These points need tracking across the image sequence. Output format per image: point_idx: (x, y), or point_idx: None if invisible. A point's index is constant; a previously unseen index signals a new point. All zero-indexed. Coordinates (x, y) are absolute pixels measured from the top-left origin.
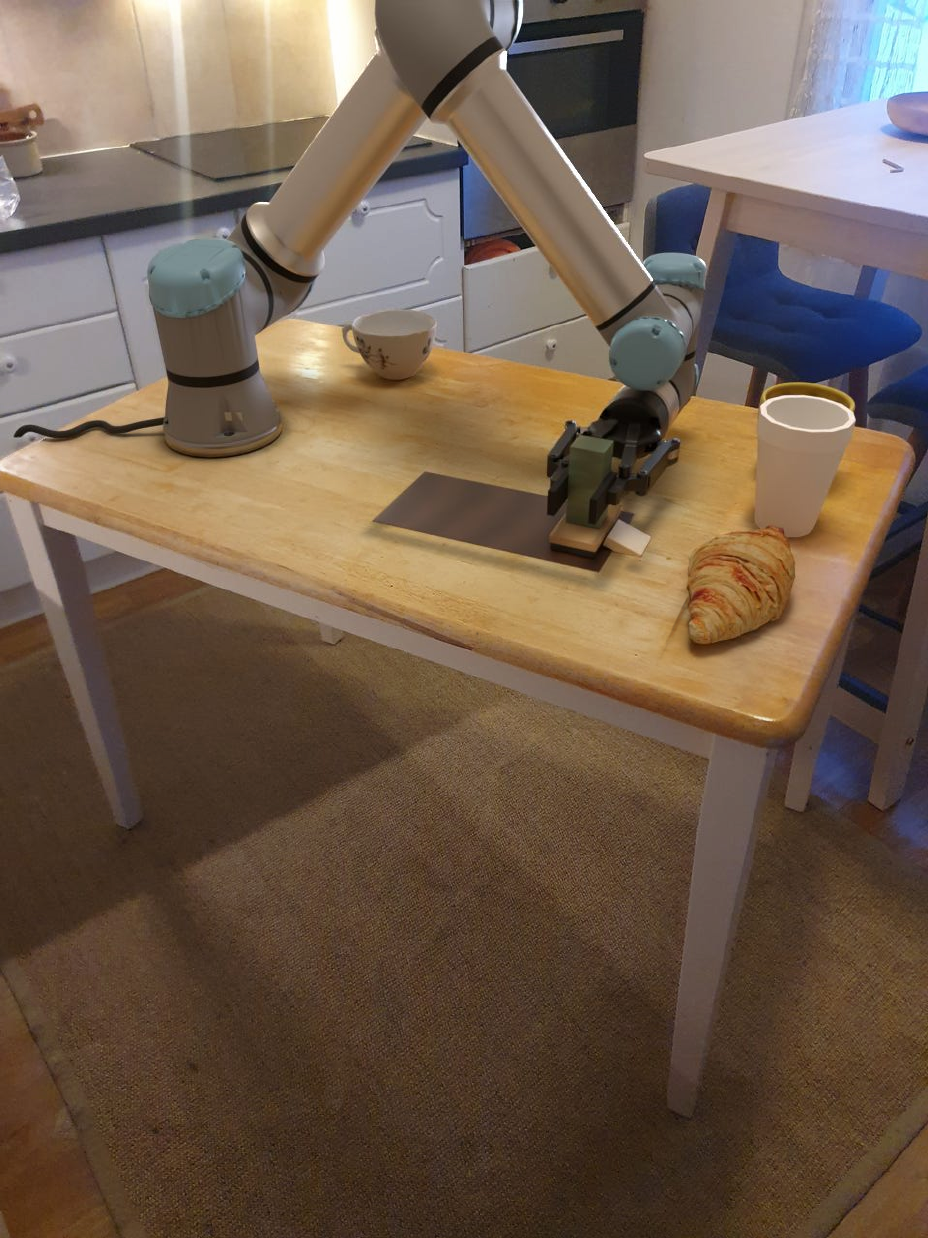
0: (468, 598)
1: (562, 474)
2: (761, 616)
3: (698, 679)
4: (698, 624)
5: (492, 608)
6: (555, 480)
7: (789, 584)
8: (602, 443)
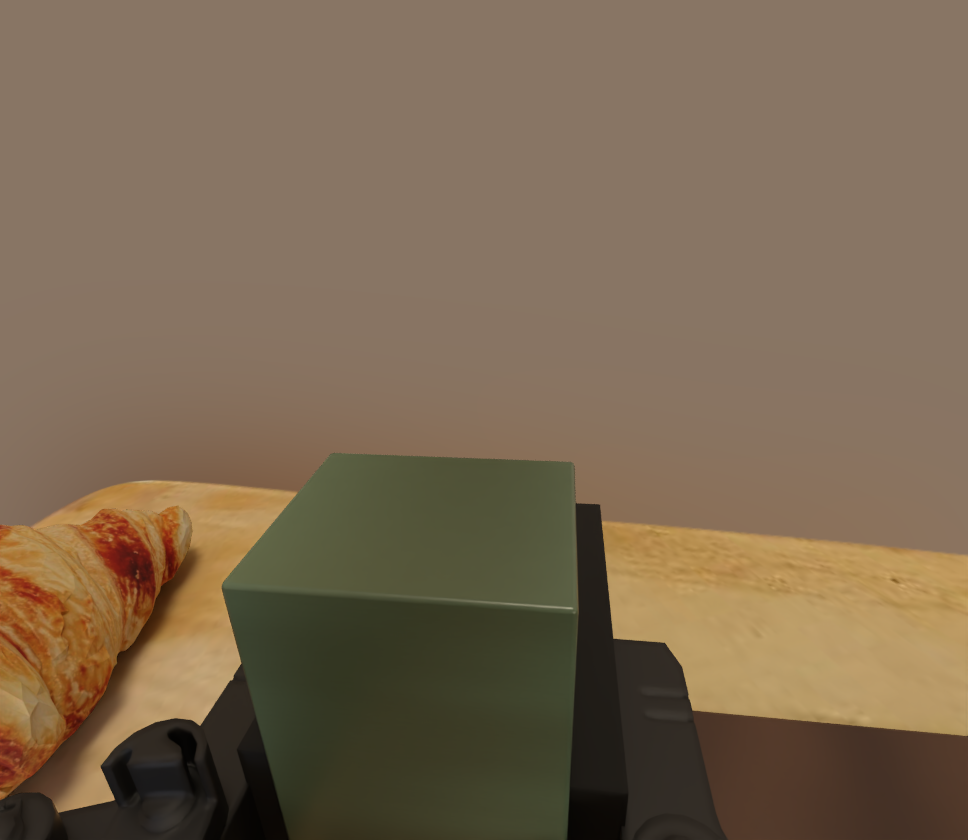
0: (697, 585)
1: (604, 632)
2: None
3: (210, 512)
4: (170, 509)
5: (624, 571)
6: (636, 647)
7: None
8: (337, 532)
